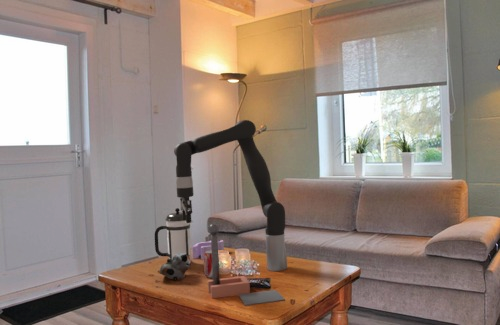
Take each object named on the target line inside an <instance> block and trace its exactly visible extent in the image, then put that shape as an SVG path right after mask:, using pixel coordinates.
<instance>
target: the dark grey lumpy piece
mask: <svg viewBox="0 0 500 325" xmlns="http://www.w3.org/2000/svg"><path fill="white" fill-rule="evenodd" d="M189 256H190V255H188V256H187V254H177V255H175V256H174V257H173V259H172V261H171V260H170V259H169V258H168V257H167V259H166V263H163V264H162V265H161V266H160V269H159V270H158V271H157V273H158V274H160V275H162V276H165V277H167V278H168V279H170V280H173V281H174V280H175V281H176V282H178V281H180V280H183V279H184V278H186V272H188V269H189V268H190V266H191V265H190V266H189V264H191V261H190V257H189Z"/></svg>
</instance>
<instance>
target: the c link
mask: <svg viewBox="0 0 500 325" xmlns="http://www.w3.org/2000/svg"><path fill="white" fill-rule="evenodd" d="M250 286H251V284H250V281H249V280H248V279H247V277H245V275H240V276H233V277H224V278H222V277H221V278H220V285H213V279H208V280H207V291H208V293H210V297H211V299H217V298H225V297H232V296H239V295H240V294H247V293H251V287H250Z"/></svg>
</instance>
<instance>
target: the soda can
mask: <svg viewBox="0 0 500 325" xmlns="http://www.w3.org/2000/svg"><path fill="white" fill-rule="evenodd" d="M203 269H204V270H203V271H204V276H205V277H206V278H208V279H209V278H210V279H211V278H212V279H213V271H212V251H211V250H207V251H205V254H204V260H203Z"/></svg>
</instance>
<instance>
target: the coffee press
mask: <svg viewBox="0 0 500 325" xmlns="http://www.w3.org/2000/svg"><path fill="white" fill-rule="evenodd" d="M174 210H175V212H171V213H169V214H168V215H166V217H165V221H166V225H161V226H158V227H157V228H155V231H154V248H155V249H154V250H155V252H156V253H155V254H157V256H160V257H167V259H168V258H169V259H170V260H171V261H172V259H173V257H174V256H175V255H177V254H187V256H188V255H190V256H189V257H190V262H192V247H191V223H194V221H193V220H192V219H191V223H187V222H186V220H183V217H182V211H180V208H178V207H177V208H175V209H174ZM161 230H166V236H167V237H166V239H167V252H161V251H160V249H159V248H160V247H159V246H160V245H159V232H160V231H161ZM189 266H191V263H190V264H189Z"/></svg>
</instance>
